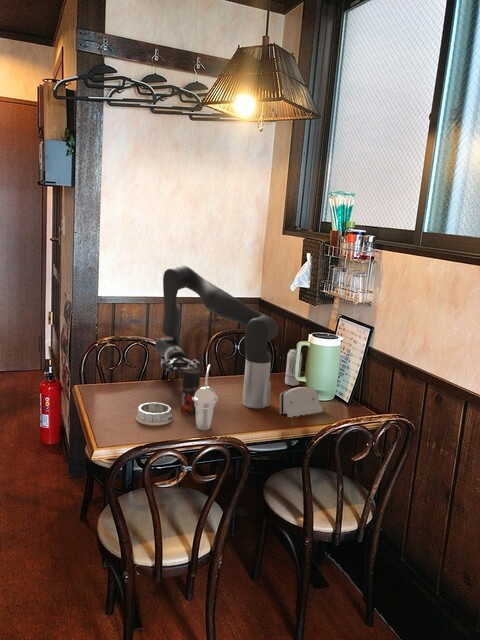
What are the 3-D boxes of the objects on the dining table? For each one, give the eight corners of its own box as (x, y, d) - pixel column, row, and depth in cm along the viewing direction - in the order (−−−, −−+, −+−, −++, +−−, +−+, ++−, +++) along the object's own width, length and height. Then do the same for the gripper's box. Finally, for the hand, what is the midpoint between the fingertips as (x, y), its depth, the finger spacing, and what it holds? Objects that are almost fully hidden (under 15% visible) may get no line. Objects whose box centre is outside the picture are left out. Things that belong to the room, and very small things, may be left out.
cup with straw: (184, 427, 176) (188, 368, 172) (201, 419, 184) (204, 362, 180) (206, 434, 172) (210, 374, 168) (221, 426, 179) (226, 368, 175)
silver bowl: (168, 411, 188) (169, 401, 188) (175, 425, 177) (176, 414, 177) (133, 412, 185) (134, 402, 184) (138, 426, 174) (138, 415, 173)
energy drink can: (284, 386, 227) (287, 351, 224) (285, 382, 233) (288, 348, 230) (298, 388, 226) (302, 353, 223) (299, 383, 232) (302, 350, 229)
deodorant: (201, 411, 191) (203, 371, 188) (190, 416, 186) (193, 374, 183) (187, 407, 194) (190, 367, 191) (177, 412, 189) (179, 370, 186)
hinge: (287, 417, 192) (284, 389, 193) (279, 417, 196) (276, 390, 197) (323, 411, 201) (320, 384, 202) (315, 411, 205) (311, 385, 206)
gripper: (158, 348, 210) (165, 360, 195) (194, 348, 214) (203, 360, 199) (156, 366, 211) (163, 380, 196) (192, 366, 216) (202, 379, 201)
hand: (184, 370), depth 198 cm, fingers open, 8 cm apart
